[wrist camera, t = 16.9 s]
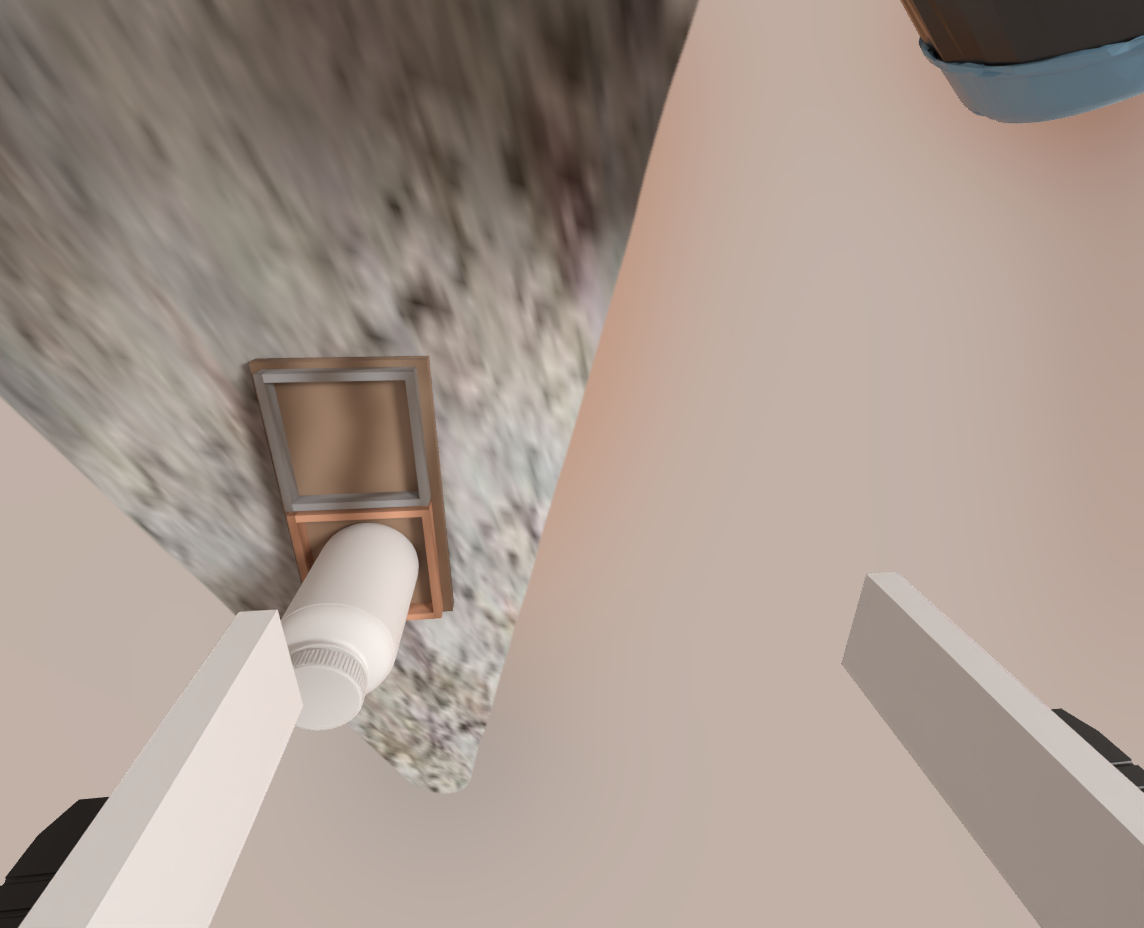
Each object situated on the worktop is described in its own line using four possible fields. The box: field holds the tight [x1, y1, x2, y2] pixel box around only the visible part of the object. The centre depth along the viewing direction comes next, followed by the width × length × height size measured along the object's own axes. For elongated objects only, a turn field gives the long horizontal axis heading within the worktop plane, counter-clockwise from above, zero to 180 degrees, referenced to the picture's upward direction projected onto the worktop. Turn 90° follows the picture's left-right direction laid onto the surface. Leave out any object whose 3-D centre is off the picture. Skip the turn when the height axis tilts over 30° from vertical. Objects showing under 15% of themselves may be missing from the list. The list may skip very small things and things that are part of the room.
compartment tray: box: [249, 356, 454, 620], centre depth 43 cm, size 12×23×3 cm, turn 0°
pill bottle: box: [280, 523, 419, 730], centre depth 39 cm, size 8×8×15 cm
